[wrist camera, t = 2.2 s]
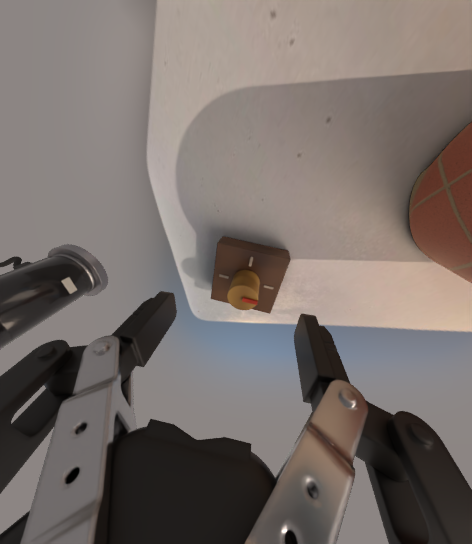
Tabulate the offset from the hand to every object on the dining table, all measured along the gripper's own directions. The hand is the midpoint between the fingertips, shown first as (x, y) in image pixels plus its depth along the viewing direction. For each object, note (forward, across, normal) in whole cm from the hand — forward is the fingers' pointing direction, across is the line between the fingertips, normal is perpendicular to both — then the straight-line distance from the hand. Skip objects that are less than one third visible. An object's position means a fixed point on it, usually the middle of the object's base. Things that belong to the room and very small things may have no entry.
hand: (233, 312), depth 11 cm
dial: (+13, 0, +6) cm, 15 cm away
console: (+16, 0, +6) cm, 17 cm away
